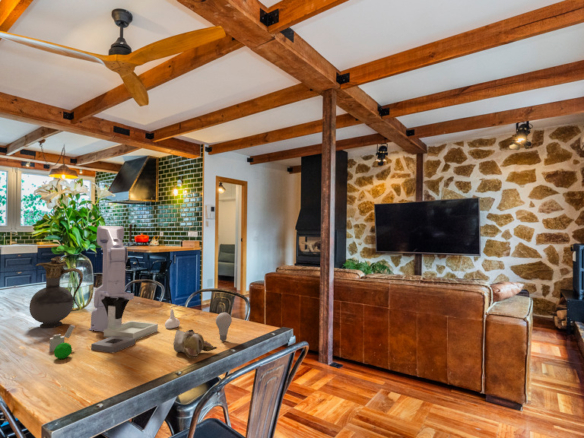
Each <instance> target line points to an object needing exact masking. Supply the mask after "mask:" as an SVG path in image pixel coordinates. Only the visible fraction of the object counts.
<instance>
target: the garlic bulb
mask: <svg viewBox="0 0 584 438" xmlns="http://www.w3.org/2000/svg"><path fill="white" fill-rule="evenodd" d="M169 312H170V315H169V318H168V319H166V321H165V323H164V327H165V328H166V329H169V330H170V329H175V328H179V326H180V324H181V322H180V320H179V318H177V317H175V312H174V309H173V308H171V309H170V311H169Z"/></svg>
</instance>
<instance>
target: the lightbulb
mask: <svg viewBox="0 0 584 438" xmlns="http://www.w3.org/2000/svg"><path fill="white" fill-rule="evenodd" d="M232 320H233V318H232V316H231V315H230V314H229V313H228V312H226V311H225V312H220V313H219V314H218V315H217V316H216V318H215V325H216V327H217V328H218V333H219V334H218V335H219V340H220V341H221V342H225V341H226V340H227V337H228V332H229V328H230V327H231V324H232V322H233V321H232Z"/></svg>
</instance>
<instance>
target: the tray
mask: <svg viewBox="0 0 584 438" xmlns="http://www.w3.org/2000/svg"><path fill="white" fill-rule="evenodd" d="M158 325H159V323H152V322H151V323H150V322H145V321H144V322H143V321H134V320H129V321H126V322H123V323H122V327H120V328H117V329H109V328H108V329H105V330H104V332H103V338H105V337H107V338H109V337H112V336H120V337H128V338H135V341H137V340H140V339H142V338H145V337H147V336H149V335H151V334H154V333H157V332H158V331H159V329H158V328H159V327H158Z"/></svg>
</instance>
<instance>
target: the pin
mask: <svg viewBox="0 0 584 438" xmlns="http://www.w3.org/2000/svg"><path fill="white" fill-rule="evenodd" d="M122 322H123V317H122V318H120V319H116V310H115V305H110V306H108V327H107V328H109V329H117V328H120V327H122V324H123V323H122Z"/></svg>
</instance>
